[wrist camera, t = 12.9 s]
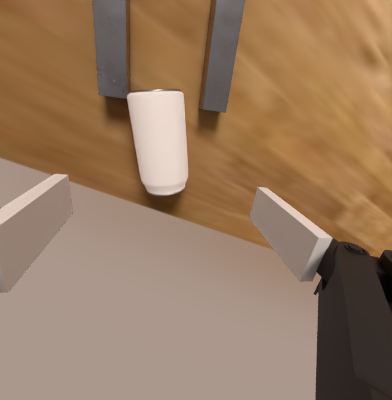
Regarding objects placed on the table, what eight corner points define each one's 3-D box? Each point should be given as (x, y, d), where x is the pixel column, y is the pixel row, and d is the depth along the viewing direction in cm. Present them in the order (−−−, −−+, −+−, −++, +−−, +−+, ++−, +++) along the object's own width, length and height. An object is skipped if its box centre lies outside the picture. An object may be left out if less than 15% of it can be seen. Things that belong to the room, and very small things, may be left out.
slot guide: (105, 95, 25) (98, 94, 23) (98, -37, 20) (89, -58, 18) (219, 111, 28) (225, 112, 26) (237, 0, 23) (247, -14, 21)
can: (171, 88, 20) (180, 199, 25) (190, 90, 25) (194, 180, 30) (113, 91, 21) (133, 195, 26) (143, 93, 27) (154, 178, 32)
